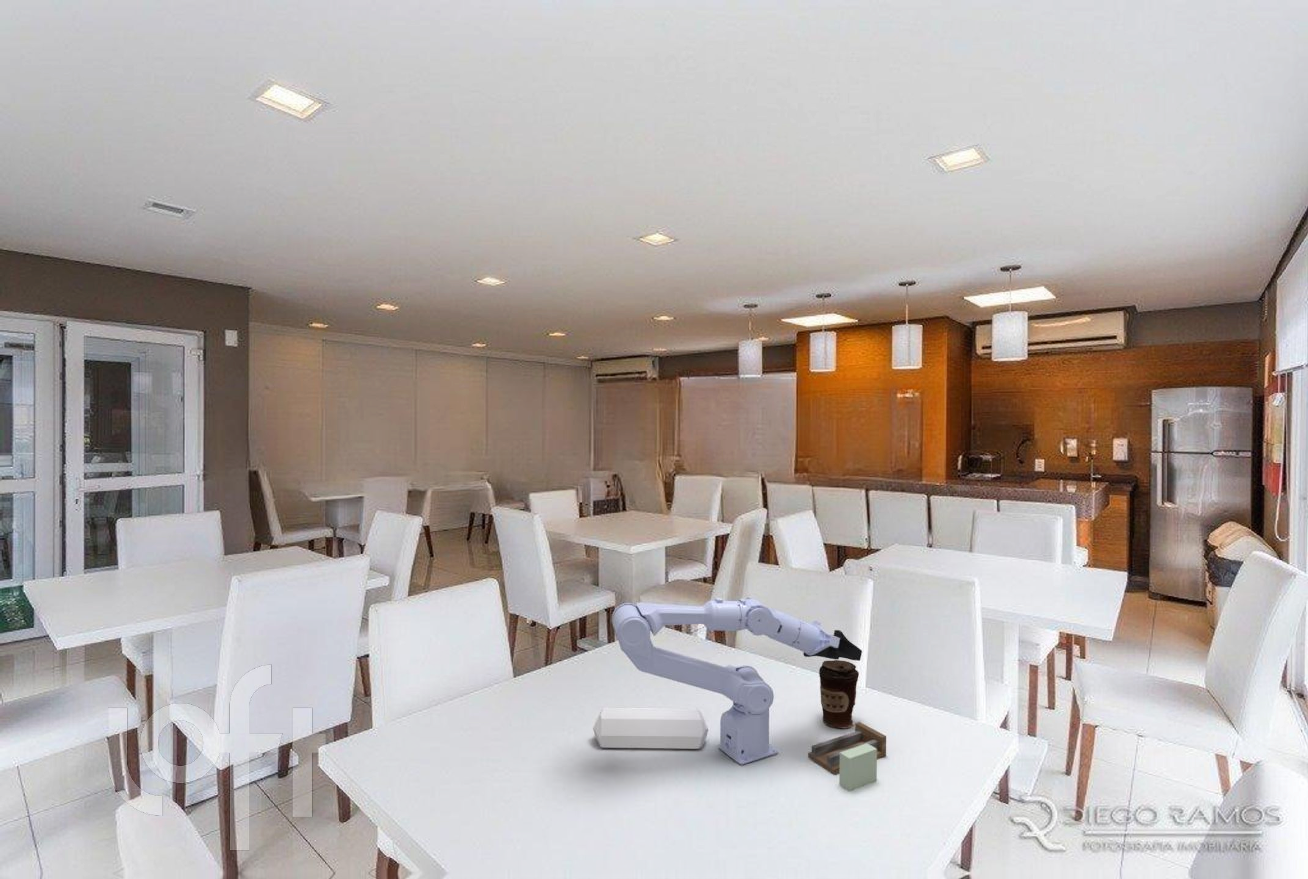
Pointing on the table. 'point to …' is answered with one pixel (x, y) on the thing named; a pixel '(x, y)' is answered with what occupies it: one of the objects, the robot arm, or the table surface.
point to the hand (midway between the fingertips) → (849, 655)
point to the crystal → (650, 728)
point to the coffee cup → (838, 692)
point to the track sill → (846, 747)
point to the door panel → (858, 767)
